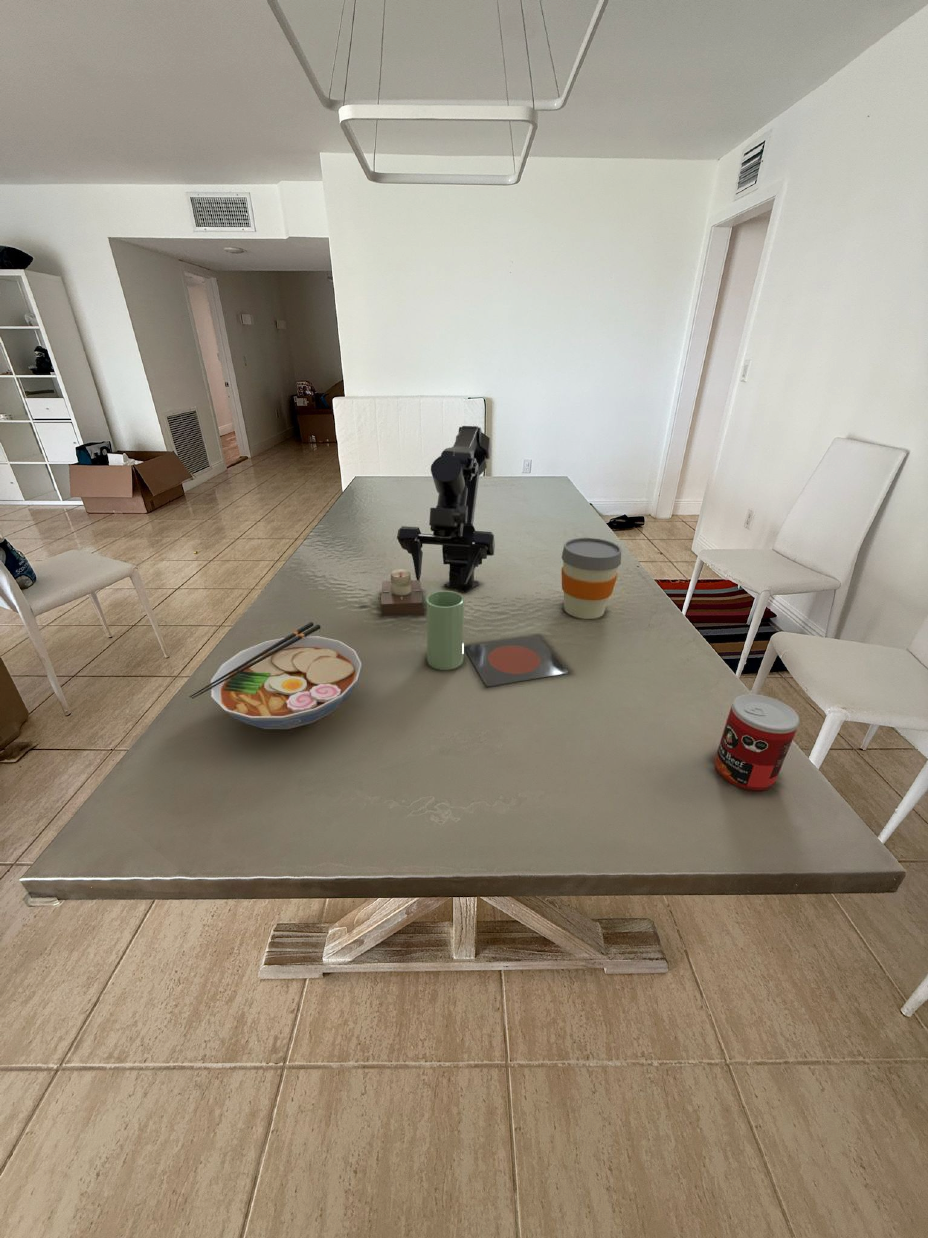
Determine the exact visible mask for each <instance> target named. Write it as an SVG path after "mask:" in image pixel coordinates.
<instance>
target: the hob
mask: <svg viewBox="0 0 928 1238" xmlns="http://www.w3.org/2000/svg"><path fill="white" fill-rule="evenodd" d="M464 651H465V653H466V654H467V656H468V657H469V659H470V661H471V662H472V664H473V666H474V668H475V670H476V671H477V673H478V675H479V677H480V679H481V680H482V682H483V684H484V685H485V687H486V688H491V687H497V686H503V685H508V684H514V683H519V682H520V683H521V682H526V681H530V680H538V679H543V678H549V677H556V676H560V675H567V674H570V672H569V671H568V670H567V669H566V668H565V666H564V665H563V664H562V663H561V662H560V660H559V659H558V658H557V656H555V654H554V653H553V652H552V651H551V650H550V649H549V647H548V646H547V645H546V643H544V641H543V640H542V639H541V638H540V636H539V635H532V636H526V637H519V638H512V639H506V640H498V641H492V642H485V643H479V644H472V645H466V646H465V645H464Z"/></svg>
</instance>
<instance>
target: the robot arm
mask: <svg viewBox="0 0 928 1238" xmlns="http://www.w3.org/2000/svg"><path fill="white" fill-rule="evenodd" d="M491 455H492V444H491V438H490V437H489V436H488V435H486V434H485V433H484V432H483V431H482V428H481V427H479V426H477V425H461V426H459V427H458V433H457V435H456V436H455V441H454V443H453V446H451V447H446V448H445V449H443V451H441V454H440V455H439V456H438V457H437V458H435V459H434V461H432V464H431V465H430V473H431V476H432V480H433V483H434V487H435V489H436V492H437V494H438V497H437V502H436V503H437V504H436V506H435V507H430V509H429V521H428V525H429V527H430V528H429V529H430V531H431V532H432V534H430V533H422V532H421V529H420V527H419V526H405V525H403V526H400V528H399V529H398V530H397V535H396V540H397V541H398V543H399V544H400V547H401V548H402V549H403V550H405V551H406V552H407V553H408V554H410V555H411V558H412V562H413V563H412V564H413V567H414V572H415V573H414V574H415V579H416V580H417V581H419V580H420V581H421V575H422V566H423V565H422V564H423V554H424V553H423V550H422V548H423V546H424V545H433V546H434V545H436V546H441V548H442V549H441V551H442V552H441V553H442V563H443V565H449V571H448V581H447V582H446V583H444V584H443V585H444V587H445V588H448V589H450V590H451V589H452V590H455V591H458V592H462V593H468V592H470V591H471V590H473V589H474V588H475V587H476V586H479V585H480V582H479V581H478V580H475V569H476V568H479V566H481V565H482V564H483V560H486V559H488V556H489V557H492V556H494V555H495V548H496V543H495V541H496V540H495V534H494V533H493V532H492V531H486V530H485V531H484V530H476V528H475V526H474V521H475V520H474V519H475V512H476V505H477V504H476V503H477V497H478V489H479V480H480V476H481V475H482V474H483V472H485V470H487V467H488V462H489V461H488V460H490V459H491Z"/></svg>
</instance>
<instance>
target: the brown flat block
mask: <svg viewBox="0 0 928 1238" xmlns="http://www.w3.org/2000/svg"><path fill="white" fill-rule="evenodd" d="M380 595H381V596H380V611H381V617H397V616H398V617H399V616H419V615H424V612H423V611H424V610H423V607H424V606H423V605H424V604H423V595H422V586H421V579H420V580H419V581H417V579H416V580H413V579H412V580H411V592H410V593H409V594H407V595H395V594H393V593H392V589H391V580H388V581H381V593H380Z"/></svg>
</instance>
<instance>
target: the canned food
mask: <svg viewBox="0 0 928 1238" xmlns="http://www.w3.org/2000/svg"><path fill="white" fill-rule="evenodd" d="M799 723H800V717H799V715H798V713H797V712H796V710H794V709H793V708H792V707H791V706H789V705H788V704H786V703H784V702H783V701H780V700H779V699H776V698H774V697H770V696H768V695H767V696H766V695H762V694H757V693H756V694H754V693H746V694H742V695H739V696H737V697H735V698H734V700H733V702H732V704H731V706H730V710H729V713H728V716H727V718H726V722H725V726H724V728H723V731H722V734H721V738H720V741H719V745H718V748H717V751H716V753H715V756H714V757H715V758H714V763H715V767H716V768H715V769H716V771H717V772H718V773H719V775H720V776H721V778H723V779H724V780H726V781H727V782H729V783H730V784H732V785H734V786H735V787H738V788H741V789H744V790H750V791H764V790H767V789H769V788H771V786H773V785H774V783H775V782H776V781H777V778H778V777H779V773H780V771H781V769H782V767H783V765H784V762H785V760H786V757H787V754H788V752H789V750H790V747H791V745H792V743H793V740H794V738H795V735H796V733H797V730H798V727H799Z"/></svg>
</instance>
